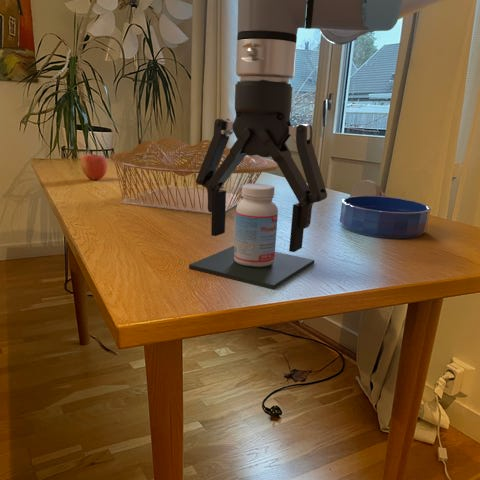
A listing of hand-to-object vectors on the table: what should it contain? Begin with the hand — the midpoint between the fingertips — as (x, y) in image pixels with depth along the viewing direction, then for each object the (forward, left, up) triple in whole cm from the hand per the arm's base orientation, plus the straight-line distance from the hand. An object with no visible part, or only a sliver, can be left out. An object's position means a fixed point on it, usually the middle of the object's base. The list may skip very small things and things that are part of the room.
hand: (255, 241), depth 71 cm
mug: (-1, -55, -4) cm, 55 cm away
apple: (+75, -40, -4) cm, 85 cm away
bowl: (-9, -38, -4) cm, 39 cm away
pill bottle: (0, 0, -3) cm, 3 cm away
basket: (+36, -35, -4) cm, 50 cm away
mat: (0, 0, -4) cm, 4 cm away
